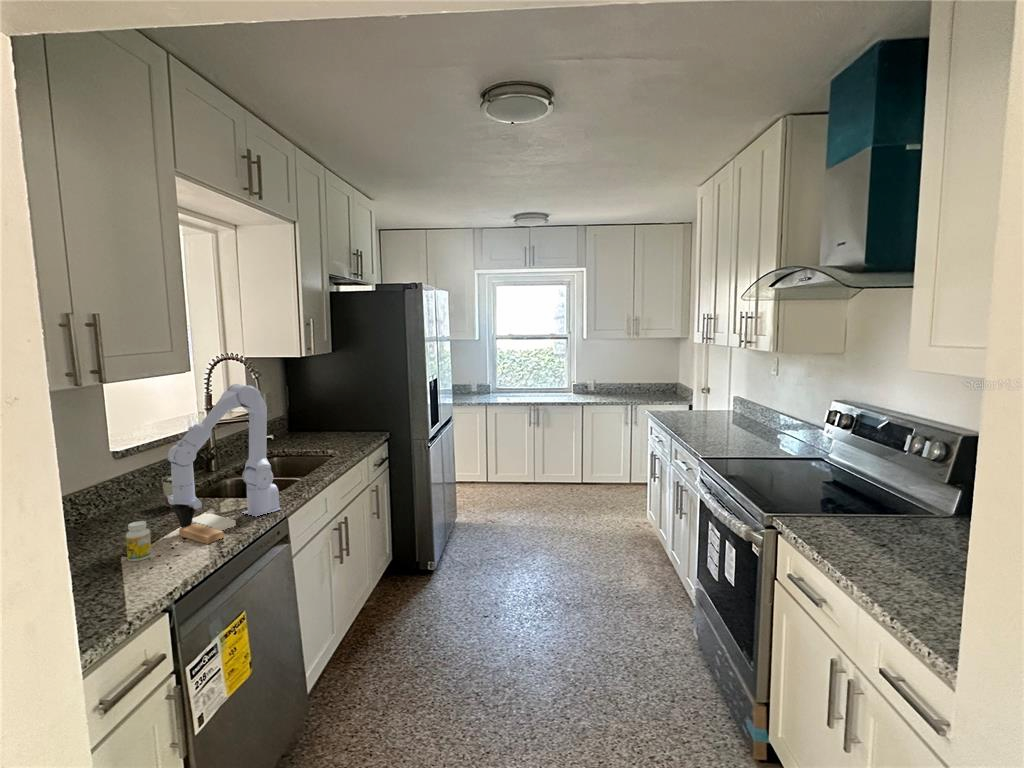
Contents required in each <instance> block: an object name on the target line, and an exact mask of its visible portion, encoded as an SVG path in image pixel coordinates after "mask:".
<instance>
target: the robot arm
mask: <svg viewBox="0 0 1024 768" xmlns="http://www.w3.org/2000/svg"><path fill="white" fill-rule="evenodd" d="M261 393H262V392H261V391H260V390H259V389H257V388H256V387H255V386H254V385H249V384H248V385H244V384H238V383H234V384H231V385H230V386H229V387H228V388H227V389H226V390H225V391H224V392H223V393H222V394H221V395H220V398H219V400H218V401H217V402H216V403H215V405H214V406H213V407H212V409H210V411H209V412H208V414H207V415H206V416H205V417H204V418H203V420H202V421H201V423H196V424H193V425H192V426H189V427H188V429H187V432H186V434H185V435H184V436H183V437H182V438H181V440H177V442H176V444H175V445H173V446H172V447H170V449H169V450H168V453H167V454H166V458H167V460H168V461H169V462H170V468H171V469H170V472H171V473H170V474H171V475H170V476H172V490H173V495H170V496H168V502H169V504H171V505H174V504H177V505H176V506H174V507H171V510H172V511H173V512H174V514H175V516H176V517H177V520H178V522H179V526H180V528H183V527H186V526H190V525H191V523H192V518H194V514H195V512H196V510H197V509H201V508H202V507H203V506H202V505H203V503H202V500H199V498H197V496H196V491H195V490H196V487H195V474H194V462H195V460H196V458H197V453H198V452H199V450H200V449H201V448H202V447H203V446H204V445H205V443H206V442H207V441H208V440H209V438H211V436H212V429H213V428H214V427H215V425H217V424H218V422H220V420H222V418H224V416H225V415H226V414H227V413H228V412H229V411H230V410H233V409H234V410H235V409H237V408H243V409H244V410H246V411H247V412H248V421H249V422H248V459H247V460H246V462H245V463H244V465H245V466H244V470H243V471H242V475H241V477H242V480H243V482H244V483H245V484H246V502H247V503H246V505H247V510H245V511H242V512H241V514H242V513H244V514H243V515H245V514H248V515H247V516H249V515H252V516H251V517H253V516H256V517H255V518H258V517H257V516H260V515H263V514H266V515H268V514H267V513H269V514H271V512H272V513H274V512H277V511H279V510H281V509H282V508H281V507H280V496H279V495H280V494H279V492H280V491H279V487H278V486H277V485H276V484H275V483H273V481H274V473H273V472H272V465H271V464H270V462H269V460H268V458H267V454H268V453H267V451H268V450H267V445H268V444H267V440H268V439H267V437H268V436H267V435H268V434H267V433H268V431H267V430H268V429H267V427H268V425H267V424H268V423H267V422H268V421H267V420H268V418H267V417H268V407H267V404H266V403H265V400H264V398H263V396H262V394H261ZM263 516H264V515H263ZM260 517H261V516H260Z"/></svg>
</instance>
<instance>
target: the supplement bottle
mask: <svg viewBox="0 0 1024 768" xmlns="http://www.w3.org/2000/svg"><path fill="white" fill-rule="evenodd" d="M127 529H128V532H127V533H126V534H125V541H126V542H125V544H126V554H127V560H128V561H129V562H139V561H144V560H147V559H149V558H151V556H152V554H153V553H152V540H151V530H150V529H149V528H147V521H145V520H139V521H133V522H130V523H128V524H127Z"/></svg>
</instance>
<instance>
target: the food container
mask: <svg viewBox="0 0 1024 768" xmlns="http://www.w3.org/2000/svg"><path fill="white" fill-rule="evenodd" d="M161 484H162V489H163V499H164V505H165V506H166V507H169V506H170V508H172V507H174V506H176V505H177V504H174V505H171V504H169V502H168V496H170V495H173V490H172V475H170V476H169V475H168V476H161Z"/></svg>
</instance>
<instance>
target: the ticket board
mask: <svg viewBox="0 0 1024 768" xmlns="http://www.w3.org/2000/svg"><path fill="white" fill-rule="evenodd" d="M193 524H199V525H202V526H206V527H209V528H213V529H216V530H220V531H222V530H224V531H226V530H225V529H227V528H230V529H232V528H231V527H233V528H235V527H234V526H237V524H236V519H232V518H228V517H224V516H221V515H217V514H213V513H205V514H201V515H198V516H193V518H192V523H191V525H193ZM227 530H228V529H227Z"/></svg>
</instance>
